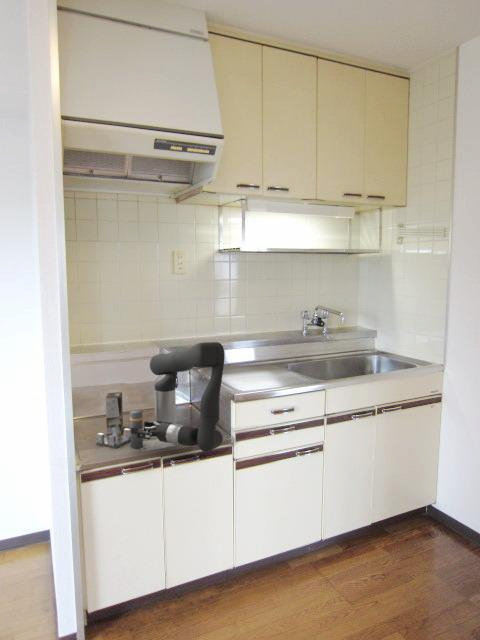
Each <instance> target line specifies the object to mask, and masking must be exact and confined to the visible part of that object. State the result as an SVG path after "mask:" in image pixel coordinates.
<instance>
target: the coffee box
mask: <svg viewBox="0 0 480 640" xmlns="http://www.w3.org/2000/svg"><path fill="white" fill-rule="evenodd" d="M123 413H124V411H123V392H122V391H121V392H119V391H118V392H108V393H107V395H106V397H105V417H106V418H105V421H106V422H105V423H106V424H105V425H106V426H105V427H106V429H105V431H106V435H112V427H114V426H117V427H119V435H120V434H122V431H123V429H124V428H123V427H124V419H123V418H124V417H123V416H124V415H123Z"/></svg>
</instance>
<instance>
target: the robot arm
mask: <svg viewBox="0 0 480 640" xmlns="http://www.w3.org/2000/svg"><path fill="white" fill-rule="evenodd" d="M225 353H226V352H225V348H224V346H223V344H222V343H220V342H217V341H216V342H215V341H213V342H212V341H210V342H198V343H196V344H194V345H192V346H190V347H184V348H179V349H176V350H173V351H170V352H168V353H162V354H161V353H160V354H155V355H153V356H152V357H151V359H150V361H149V368H150V371H151V373H152V374H153V375H156V376H163V375H164V377H162V378H161V379H160V380H158V381H156V382H155V383H154V421H148V420H146V421H144V423H143V424H144V425H143V426H144V428H143V429H138V428H131V433H132V434H137V438H142V439H143V440H147V441H149V440H151V438H155V437H156V438H157V440H159V442H160V443H161V442H162V443H165V444H166V443H167V444H172V445H182V446H185V447H186V446H187V447H195V446H198V448H199V449H200V451H201V452H203V453H209V452H211V451H213V450H215V449H217V448H219V447H220V446H221V445H222V444H223V440H224V438H223V437H224V436H223V434H222V433H221V432H220V431H219V429H216V426H217V424H218V423H219V421H220V397H221V396H220V394H221V386H222V381H223V374H224V367H225V366H224V365H225V358H226V357H225ZM193 368H202V369H205V368H211V376H210V379H209V381H208V383H207V385H206V388H205V389H204V391H203V394H202V396H201V399H200V405H199V407H200V412H199V413H200V415H199V416H200V421H199V423H198V424H199V425H198V427H193V426H188V425H183V424H179V423H177V417H178V416H177V414H178V413H177V412H178V411H177V404H176V385H177V373H183V372H188V371H190V370H192V369H193Z"/></svg>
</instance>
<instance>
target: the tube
mask: <svg viewBox="0 0 480 640" xmlns="http://www.w3.org/2000/svg"><path fill="white" fill-rule="evenodd" d="M143 419H144V418H143V411H142V410H131V411H130V412H129V425H130V426H129V429H130V439H131V441H130V448H131V449H140V447H141V448H143V447H144V444H143V443H144V439H142V438H137V434H132V433H131V428H138V429H144V428H143V426H144V425H143V424H144V423H143ZM142 446H143V447H142Z"/></svg>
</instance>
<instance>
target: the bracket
mask: <svg viewBox="0 0 480 640" xmlns="http://www.w3.org/2000/svg"><path fill="white" fill-rule="evenodd" d="M129 442H131V439H130V428H123V435H120V434H119V427H117V426H114V427H112V434H109V435H108V436H106V437H105V433H102V432H99V433H96V442H95V443H96V445H99V446H103V447H108V448H111V449H117V448H120V447H121V446H123V445H125V444H127V443H129Z"/></svg>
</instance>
